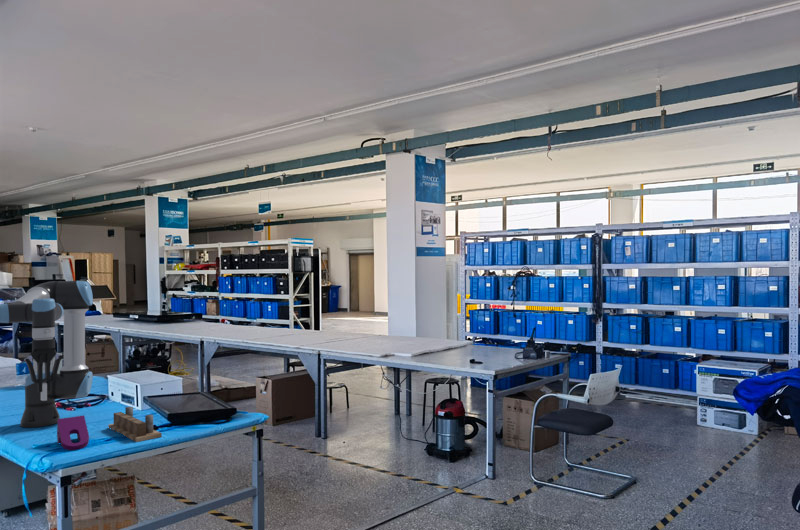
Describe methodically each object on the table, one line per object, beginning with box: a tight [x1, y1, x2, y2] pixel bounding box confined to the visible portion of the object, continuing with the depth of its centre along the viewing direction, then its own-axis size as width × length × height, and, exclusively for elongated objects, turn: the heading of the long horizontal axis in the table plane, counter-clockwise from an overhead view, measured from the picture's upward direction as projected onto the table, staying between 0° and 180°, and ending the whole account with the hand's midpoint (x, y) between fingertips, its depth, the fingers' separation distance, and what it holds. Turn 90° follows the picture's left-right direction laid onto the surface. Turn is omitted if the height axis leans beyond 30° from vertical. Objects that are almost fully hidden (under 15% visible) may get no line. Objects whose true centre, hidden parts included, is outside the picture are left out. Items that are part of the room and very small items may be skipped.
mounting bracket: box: [56, 415, 90, 451], centre depth 228 cm, size 10×8×18 cm
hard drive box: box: [32, 352, 63, 374], centre depth 354 cm, size 16×8×20 cm, turn 74°
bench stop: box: [107, 406, 163, 443], centre depth 244 cm, size 32×10×8 cm, turn 45°
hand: (43, 400), depth 220 cm, fingers closed
